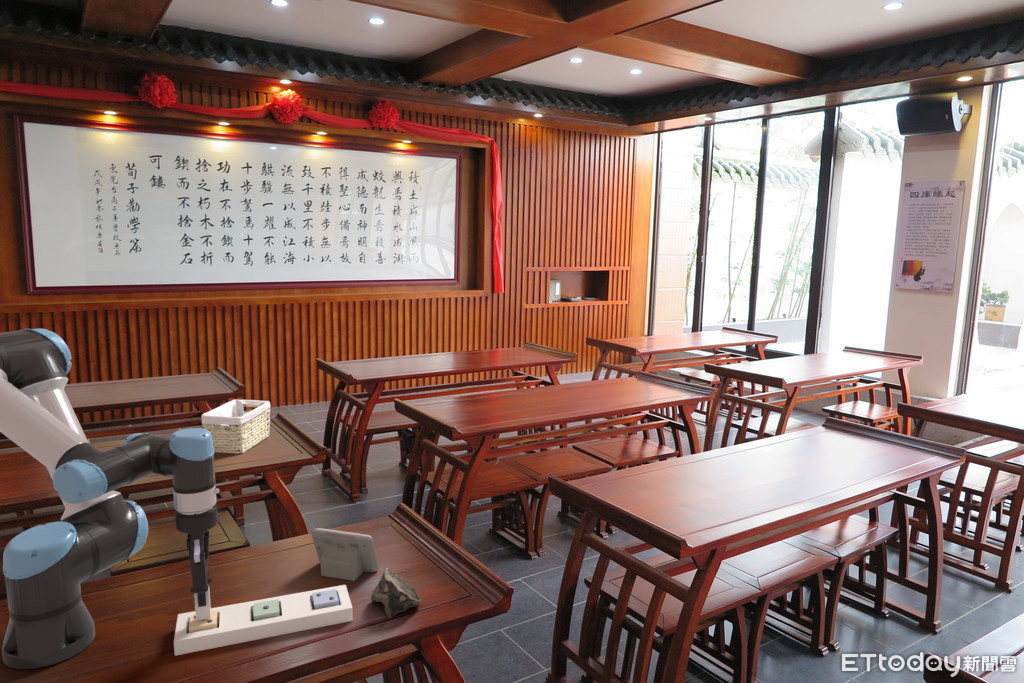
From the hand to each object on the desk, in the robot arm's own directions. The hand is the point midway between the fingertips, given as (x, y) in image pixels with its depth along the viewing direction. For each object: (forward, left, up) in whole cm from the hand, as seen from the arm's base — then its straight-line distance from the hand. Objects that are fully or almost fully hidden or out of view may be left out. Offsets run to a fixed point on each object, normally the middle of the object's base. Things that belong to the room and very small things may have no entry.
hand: (203, 617), depth 136 cm
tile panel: (+12, 0, -4) cm, 13 cm away
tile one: (+12, 0, -4) cm, 13 cm away
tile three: (0, 0, -4) cm, 4 cm away
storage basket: (+6, +128, -4) cm, 129 cm away
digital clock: (+31, +17, -4) cm, 35 cm away
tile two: (+24, 0, -4) cm, 24 cm away
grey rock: (+39, -2, -5) cm, 40 cm away
